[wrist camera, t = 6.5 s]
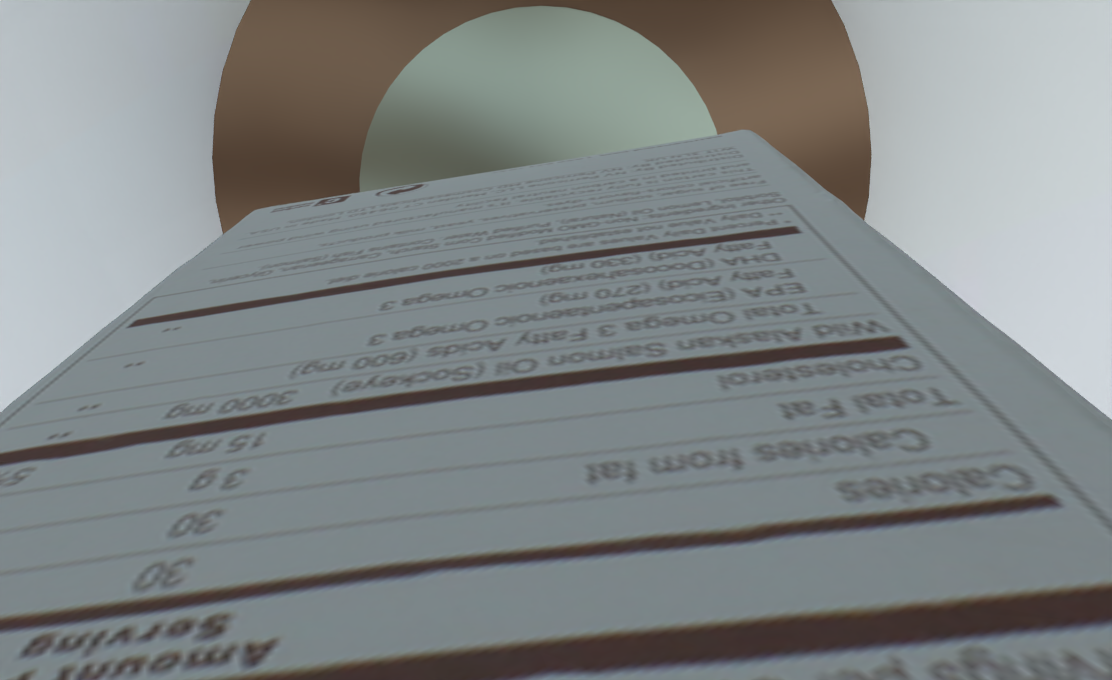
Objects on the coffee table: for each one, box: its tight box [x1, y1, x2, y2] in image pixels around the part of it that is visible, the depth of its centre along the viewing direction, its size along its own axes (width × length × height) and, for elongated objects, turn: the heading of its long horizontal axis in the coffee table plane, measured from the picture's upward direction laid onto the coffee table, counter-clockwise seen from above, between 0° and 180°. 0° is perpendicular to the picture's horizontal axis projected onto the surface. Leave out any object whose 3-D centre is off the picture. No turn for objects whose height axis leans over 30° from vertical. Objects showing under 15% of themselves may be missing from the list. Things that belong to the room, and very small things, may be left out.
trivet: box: [212, 0, 871, 234], centre depth 26 cm, size 18×18×2 cm
